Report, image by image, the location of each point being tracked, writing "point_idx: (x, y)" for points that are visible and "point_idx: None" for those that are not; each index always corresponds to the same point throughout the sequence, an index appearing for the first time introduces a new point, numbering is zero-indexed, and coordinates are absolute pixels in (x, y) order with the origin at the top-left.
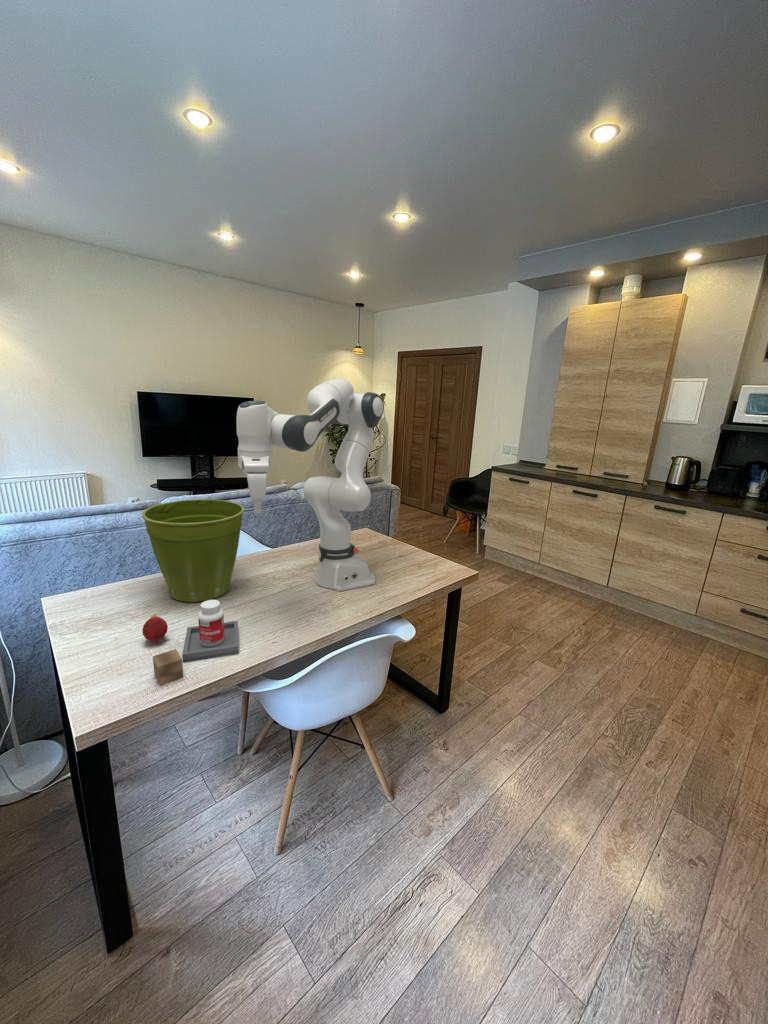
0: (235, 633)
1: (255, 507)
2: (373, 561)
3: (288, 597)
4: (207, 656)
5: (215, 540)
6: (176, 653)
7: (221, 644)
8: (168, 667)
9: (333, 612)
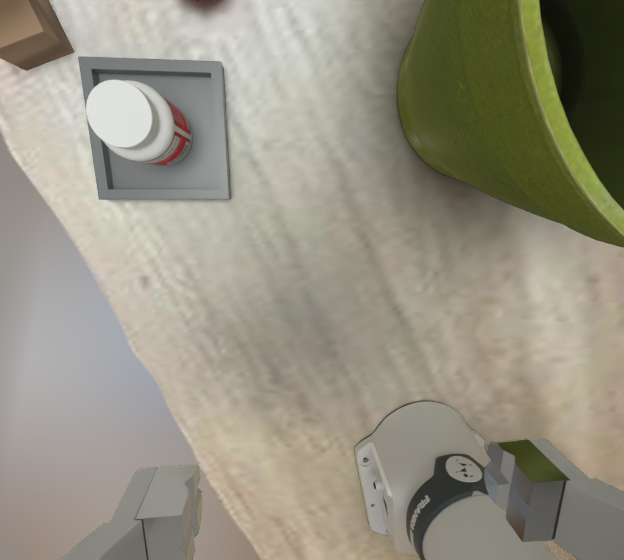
0: (162, 193)
1: (102, 537)
2: None
3: (359, 328)
4: None
5: (471, 106)
6: (18, 34)
7: None
8: None
9: (254, 420)
